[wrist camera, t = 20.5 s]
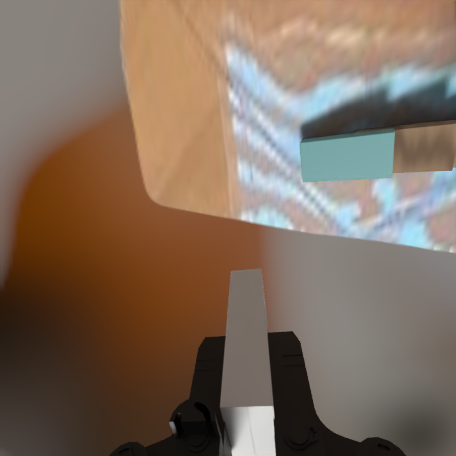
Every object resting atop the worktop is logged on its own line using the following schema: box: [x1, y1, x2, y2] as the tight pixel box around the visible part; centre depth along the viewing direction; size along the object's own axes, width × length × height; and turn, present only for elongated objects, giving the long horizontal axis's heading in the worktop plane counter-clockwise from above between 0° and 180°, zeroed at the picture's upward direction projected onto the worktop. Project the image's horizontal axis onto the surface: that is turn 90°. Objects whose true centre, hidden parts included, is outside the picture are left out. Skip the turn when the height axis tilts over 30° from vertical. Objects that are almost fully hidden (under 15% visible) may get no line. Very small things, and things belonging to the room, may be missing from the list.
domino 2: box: [355, 120, 456, 173], centre depth 33 cm, size 5×2×10 cm
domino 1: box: [300, 128, 395, 182], centre depth 33 cm, size 5×2×10 cm
